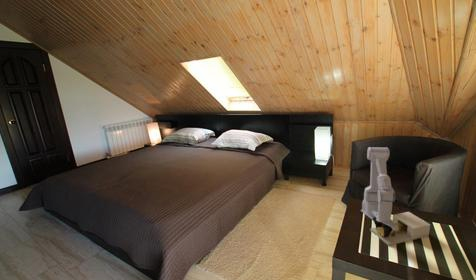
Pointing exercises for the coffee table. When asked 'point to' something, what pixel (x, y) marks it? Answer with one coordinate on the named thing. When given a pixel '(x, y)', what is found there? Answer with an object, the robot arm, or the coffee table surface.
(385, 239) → the housing
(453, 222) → the coffee table surface
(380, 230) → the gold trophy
